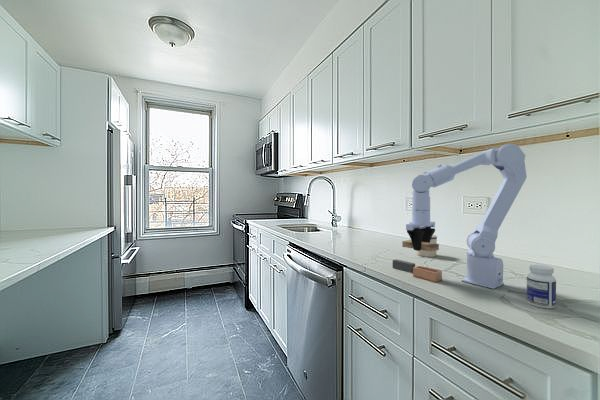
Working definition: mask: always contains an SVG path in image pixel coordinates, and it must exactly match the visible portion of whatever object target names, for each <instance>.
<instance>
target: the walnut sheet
mask: <svg viewBox="0 0 600 400" xmlns="http://www.w3.org/2000/svg"><path fill="white" fill-rule="evenodd" d="M401 243H402V245H401V246H402V248H408V249H413V245H412V241H411V239H407V240H403V241H402V242H401ZM439 246H440V243H437V244H435V243H427V242H422V243H421V250H426V251H436V252H437V251H439V250H440V247H439Z"/></svg>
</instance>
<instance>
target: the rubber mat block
mask: <svg viewBox="0 0 600 400" xmlns="http://www.w3.org/2000/svg"><path fill="white" fill-rule="evenodd" d="M413 267H416V263H414V262H410V261H406V260H401V259H392V269H396V270H399V271H403V272H407V273H410V274H411V273H412V274H413Z"/></svg>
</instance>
